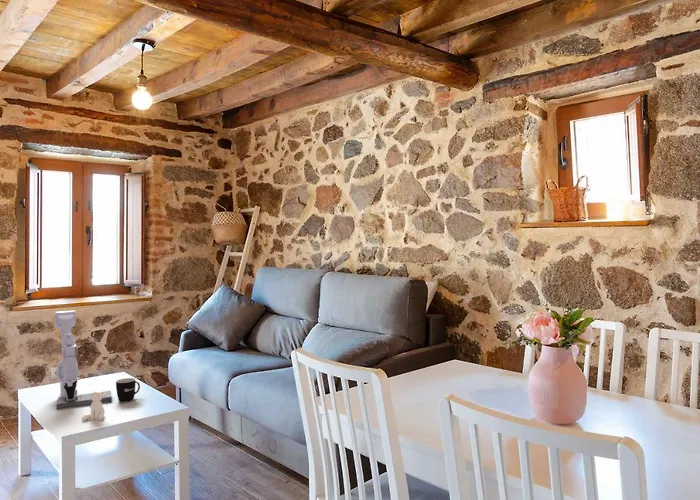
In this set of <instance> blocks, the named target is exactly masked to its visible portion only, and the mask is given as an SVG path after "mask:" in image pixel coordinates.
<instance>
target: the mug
mask: <svg viewBox="0 0 700 500" xmlns="http://www.w3.org/2000/svg"><path fill="white" fill-rule="evenodd" d="M136 385H137V389H136ZM115 387H116V395H117V399H118V401H119V402H120V403H130V402H132V401H134V398H135V395H136V394H138V393H139V391H140V389H141V385H140V382H138V381H137V380H136V378H135V377H134V378H133V377H126V378H119V379H117V380H116V381H115Z"/></svg>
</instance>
